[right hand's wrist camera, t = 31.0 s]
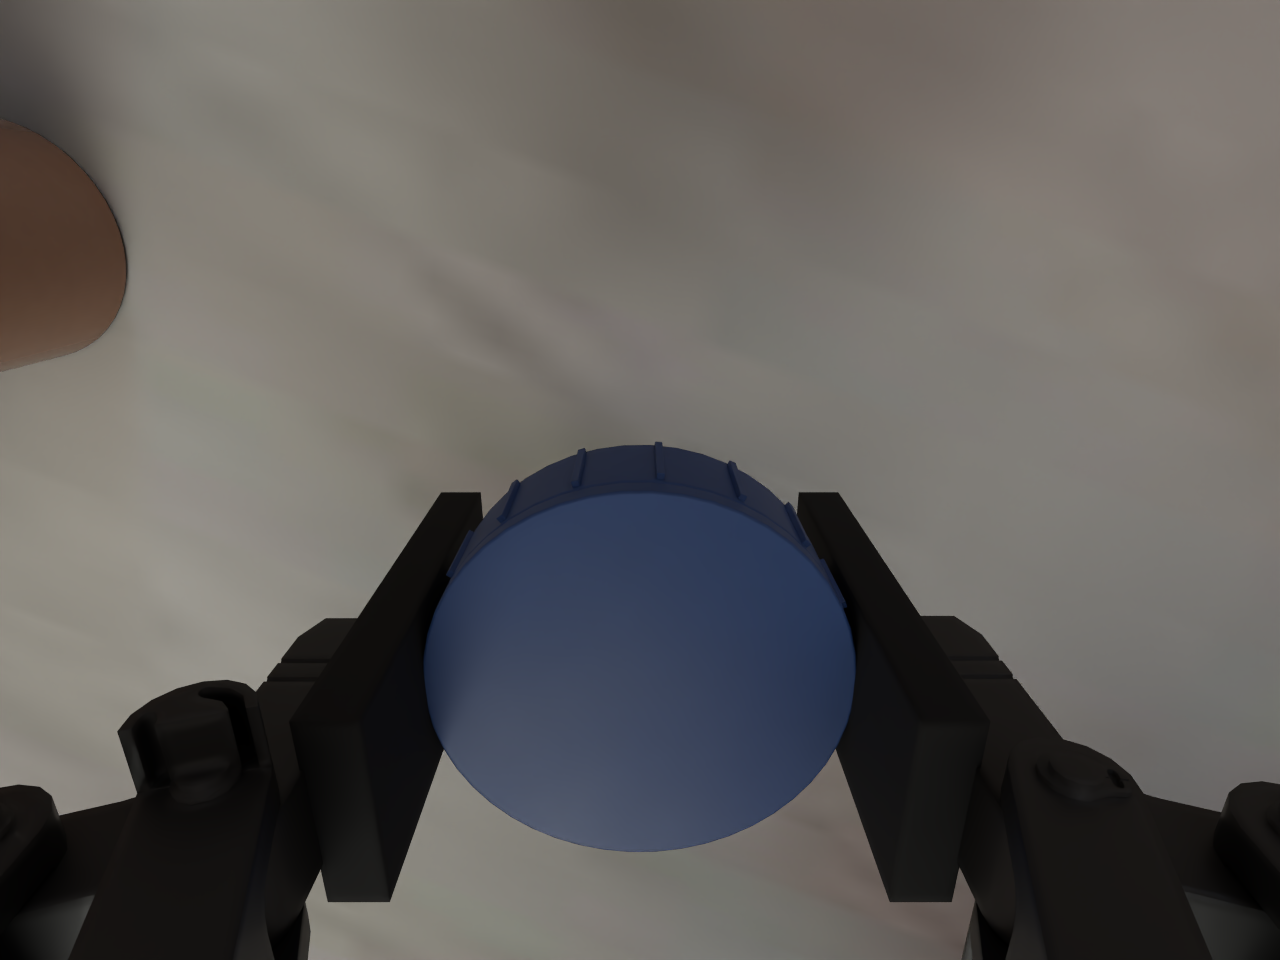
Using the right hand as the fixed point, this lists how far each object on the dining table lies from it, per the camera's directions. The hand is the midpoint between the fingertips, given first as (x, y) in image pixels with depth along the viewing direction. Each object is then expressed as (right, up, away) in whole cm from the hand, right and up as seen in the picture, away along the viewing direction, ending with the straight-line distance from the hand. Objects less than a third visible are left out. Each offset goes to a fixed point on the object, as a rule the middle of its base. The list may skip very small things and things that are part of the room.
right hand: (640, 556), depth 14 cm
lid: (0, -1, -4) cm, 4 cm away
